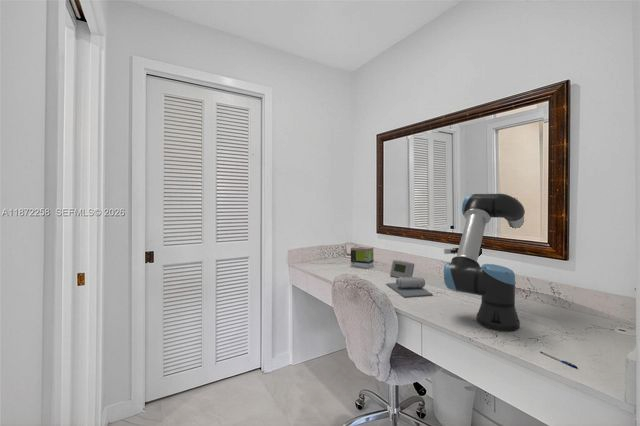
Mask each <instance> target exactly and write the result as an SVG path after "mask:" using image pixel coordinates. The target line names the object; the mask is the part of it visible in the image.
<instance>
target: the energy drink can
mask: <svg viewBox="0 0 640 426" xmlns="http://www.w3.org/2000/svg"><path fill="white" fill-rule="evenodd" d="M395 283H396V285H397V287H399V288H423V289H424V288H425V286H426V280H425V278H424V277H422V276H412V277H400V278H396V280H395Z"/></svg>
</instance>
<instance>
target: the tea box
mask: <svg viewBox="0 0 640 426" xmlns="http://www.w3.org/2000/svg"><path fill="white" fill-rule="evenodd" d="M374 258H375V257H374V247H372V246H360V245H358V246H356V245H355V246H353V247H350V267H353V268H365V269H370V268H372V267H374V266H375V265H374V261H375V259H374Z"/></svg>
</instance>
